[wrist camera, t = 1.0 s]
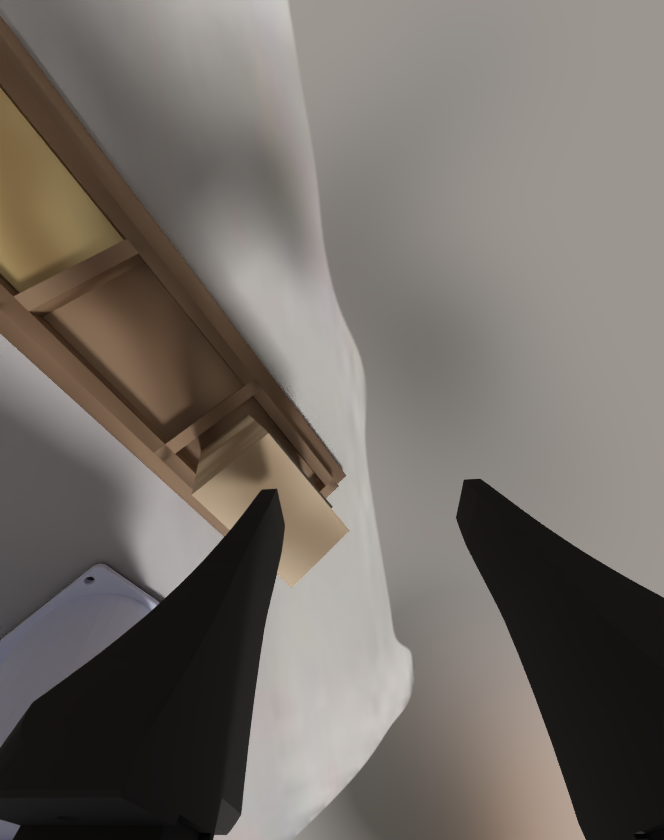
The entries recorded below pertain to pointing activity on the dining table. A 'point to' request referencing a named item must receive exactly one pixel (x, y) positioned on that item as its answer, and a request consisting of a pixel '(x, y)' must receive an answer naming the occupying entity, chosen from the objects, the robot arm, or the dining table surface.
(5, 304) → the brown framed tray
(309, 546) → the plain beige carton
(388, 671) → the dining table surface
